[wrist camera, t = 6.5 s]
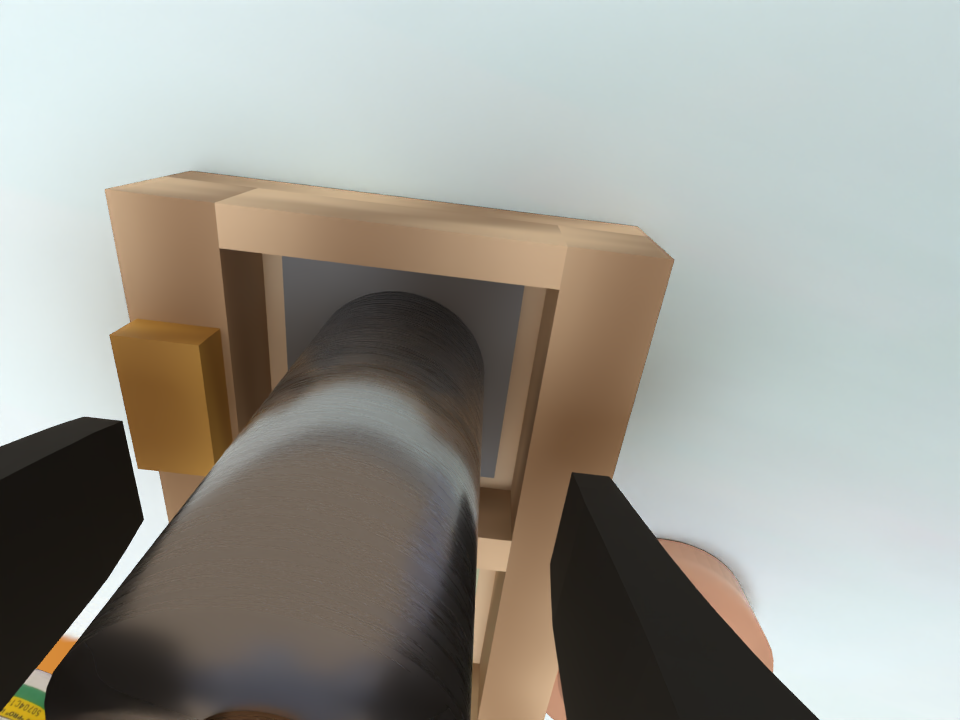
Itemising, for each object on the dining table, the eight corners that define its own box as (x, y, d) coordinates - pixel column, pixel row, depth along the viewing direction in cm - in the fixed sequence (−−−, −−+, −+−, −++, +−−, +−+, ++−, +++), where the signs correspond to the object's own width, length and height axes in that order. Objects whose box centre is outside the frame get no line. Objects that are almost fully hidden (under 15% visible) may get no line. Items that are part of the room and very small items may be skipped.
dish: (776, 552, 16) (815, 614, 14) (706, 694, 19) (729, 761, 17) (547, 525, 16) (553, 585, 14) (513, 673, 19) (514, 738, 17)
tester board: (637, 226, 12) (688, 272, 9) (532, 656, 18) (538, 775, 15) (190, 170, 12) (70, 196, 8) (245, 625, 18) (190, 738, 15)
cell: (494, 302, 11) (492, 714, 4) (475, 452, 13) (446, 946, 5) (310, 281, 11) (-89, 659, 4) (315, 435, 13) (53, 914, 5)
